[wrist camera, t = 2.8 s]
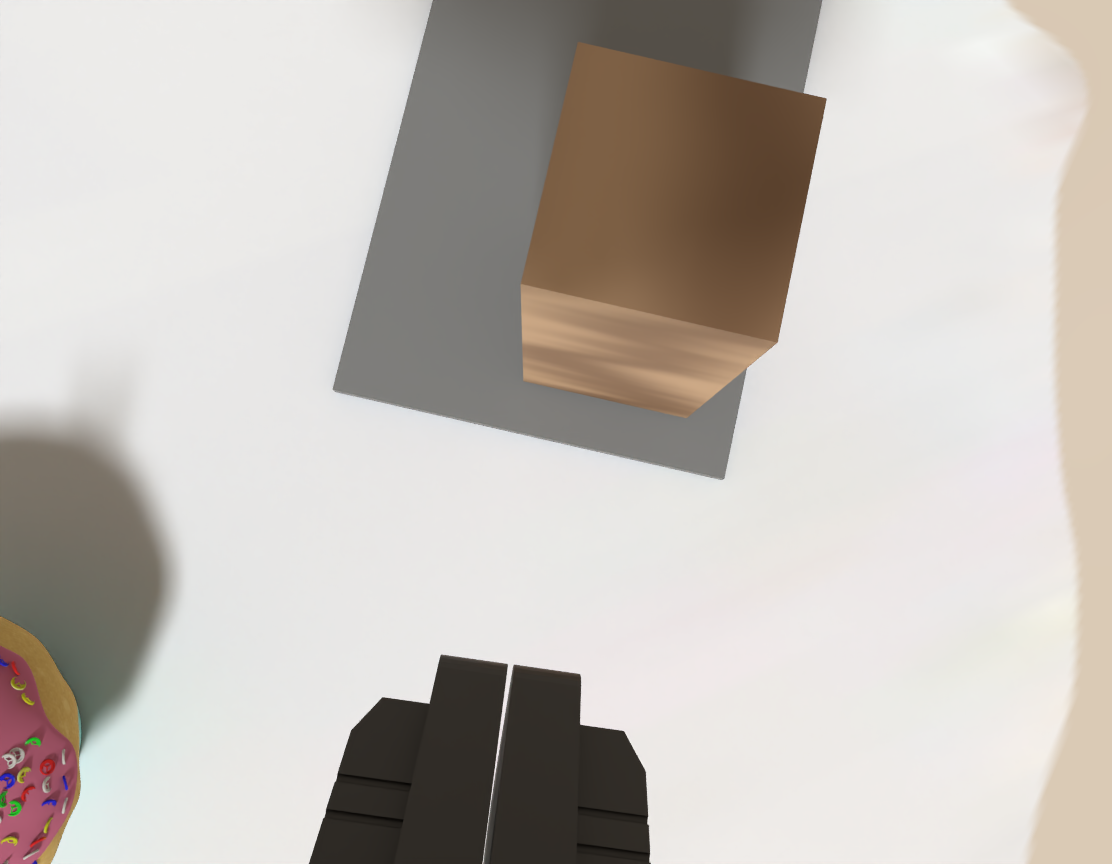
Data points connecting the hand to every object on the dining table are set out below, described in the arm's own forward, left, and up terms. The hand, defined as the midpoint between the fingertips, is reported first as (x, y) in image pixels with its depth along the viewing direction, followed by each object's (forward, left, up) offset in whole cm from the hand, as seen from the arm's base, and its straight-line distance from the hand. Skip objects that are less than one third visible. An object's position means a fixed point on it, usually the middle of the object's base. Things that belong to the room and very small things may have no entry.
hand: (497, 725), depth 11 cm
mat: (-1, +14, -19) cm, 24 cm away
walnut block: (+1, +9, -18) cm, 21 cm away
